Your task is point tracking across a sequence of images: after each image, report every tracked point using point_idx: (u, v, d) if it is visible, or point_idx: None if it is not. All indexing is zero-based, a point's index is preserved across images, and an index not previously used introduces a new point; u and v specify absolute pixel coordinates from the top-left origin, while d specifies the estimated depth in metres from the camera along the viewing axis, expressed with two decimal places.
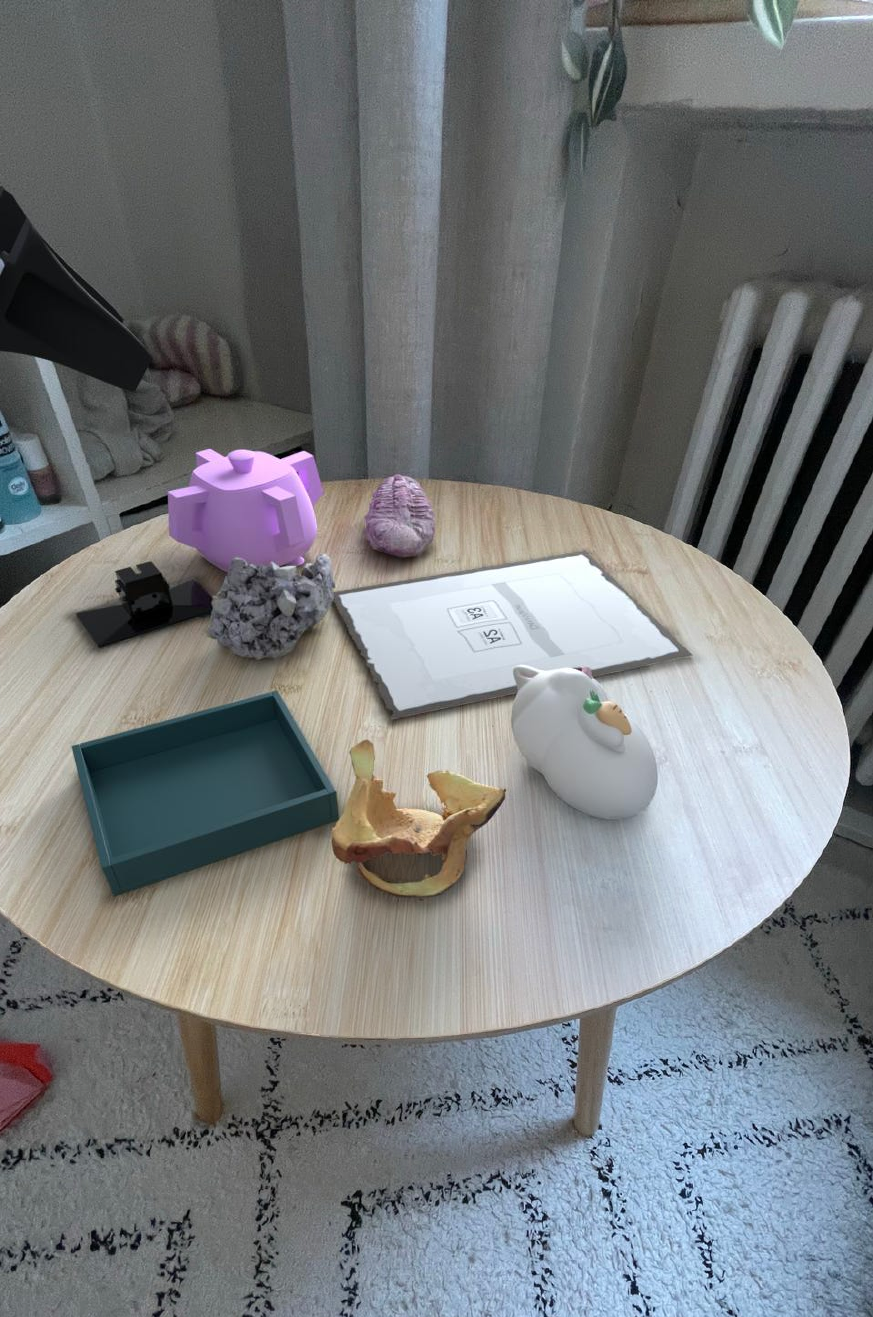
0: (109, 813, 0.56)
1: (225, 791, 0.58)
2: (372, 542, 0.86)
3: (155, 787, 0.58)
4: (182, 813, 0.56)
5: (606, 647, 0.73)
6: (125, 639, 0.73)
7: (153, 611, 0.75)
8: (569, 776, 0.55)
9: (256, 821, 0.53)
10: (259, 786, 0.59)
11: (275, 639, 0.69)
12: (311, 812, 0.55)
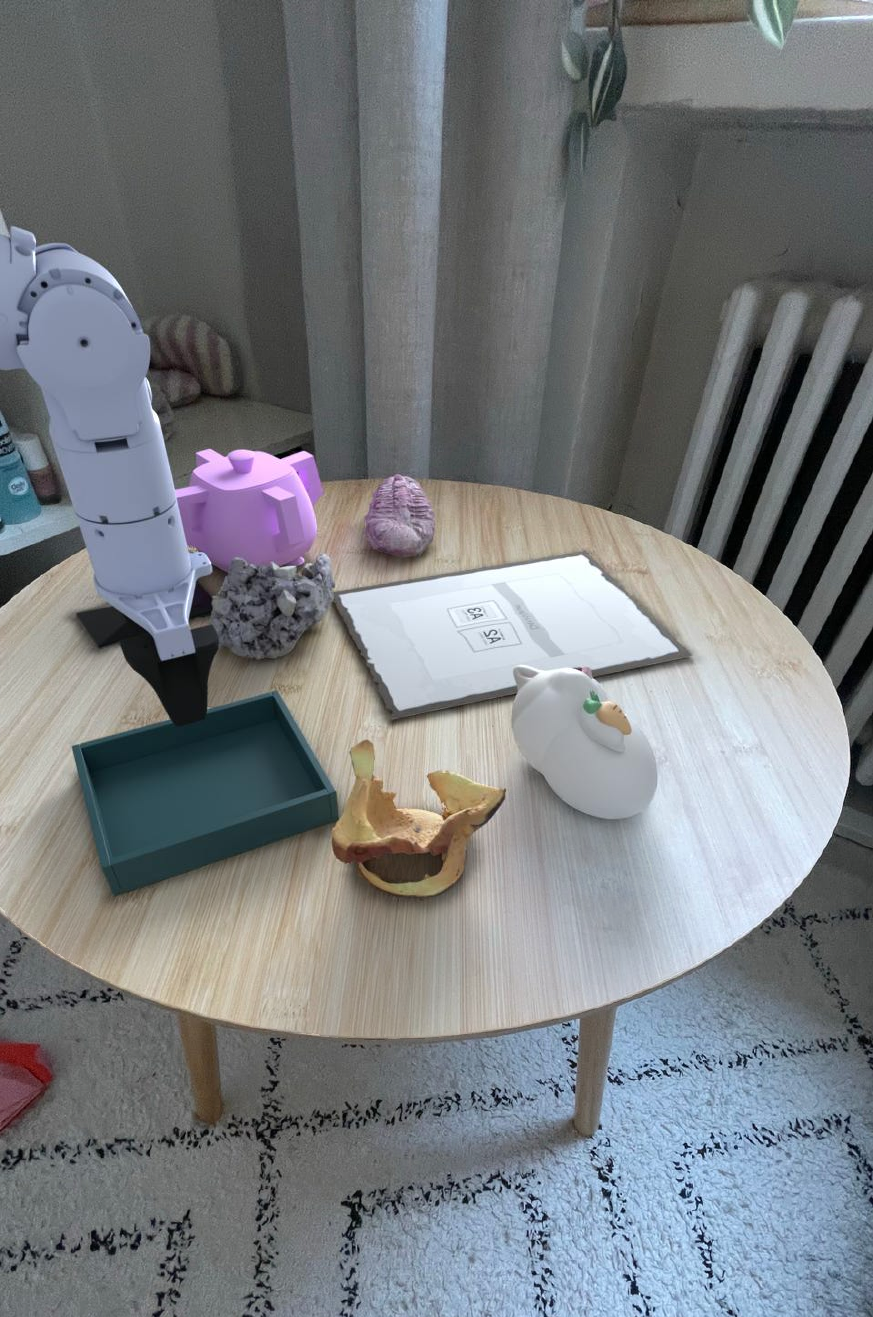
0: (109, 813, 0.56)
1: (225, 791, 0.58)
2: (372, 542, 0.86)
3: (155, 787, 0.58)
4: (182, 813, 0.56)
5: (606, 647, 0.73)
6: None
7: None
8: (569, 776, 0.55)
9: (256, 821, 0.53)
10: (259, 786, 0.59)
11: (275, 639, 0.69)
12: (311, 812, 0.55)
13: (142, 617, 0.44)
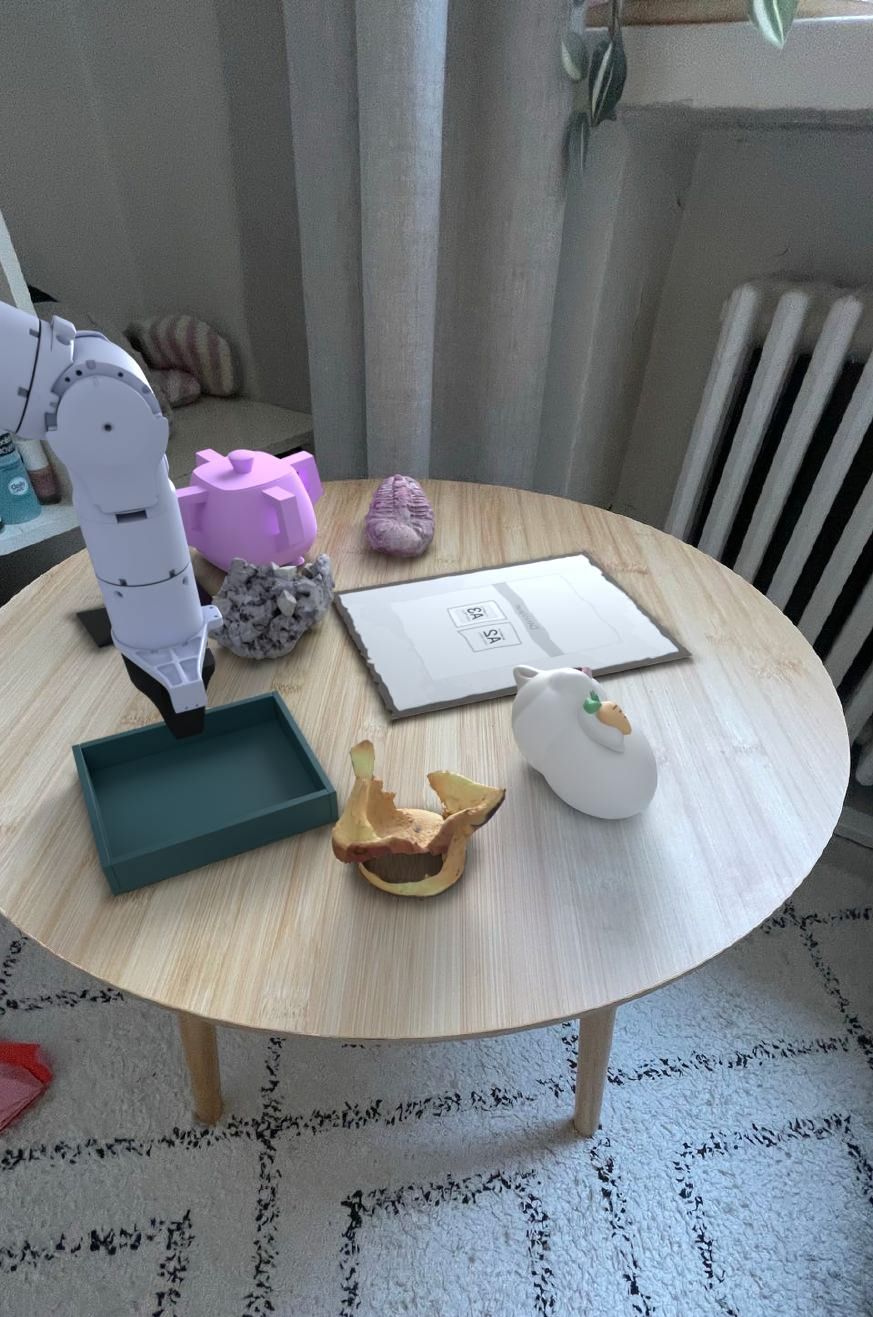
0: (109, 813, 0.56)
1: (225, 791, 0.58)
2: (372, 542, 0.86)
3: (155, 787, 0.58)
4: (182, 813, 0.56)
5: (606, 647, 0.73)
6: None
7: None
8: (569, 776, 0.55)
9: (256, 821, 0.53)
10: (259, 786, 0.59)
11: (275, 639, 0.69)
12: (311, 812, 0.55)
13: (158, 672, 0.47)
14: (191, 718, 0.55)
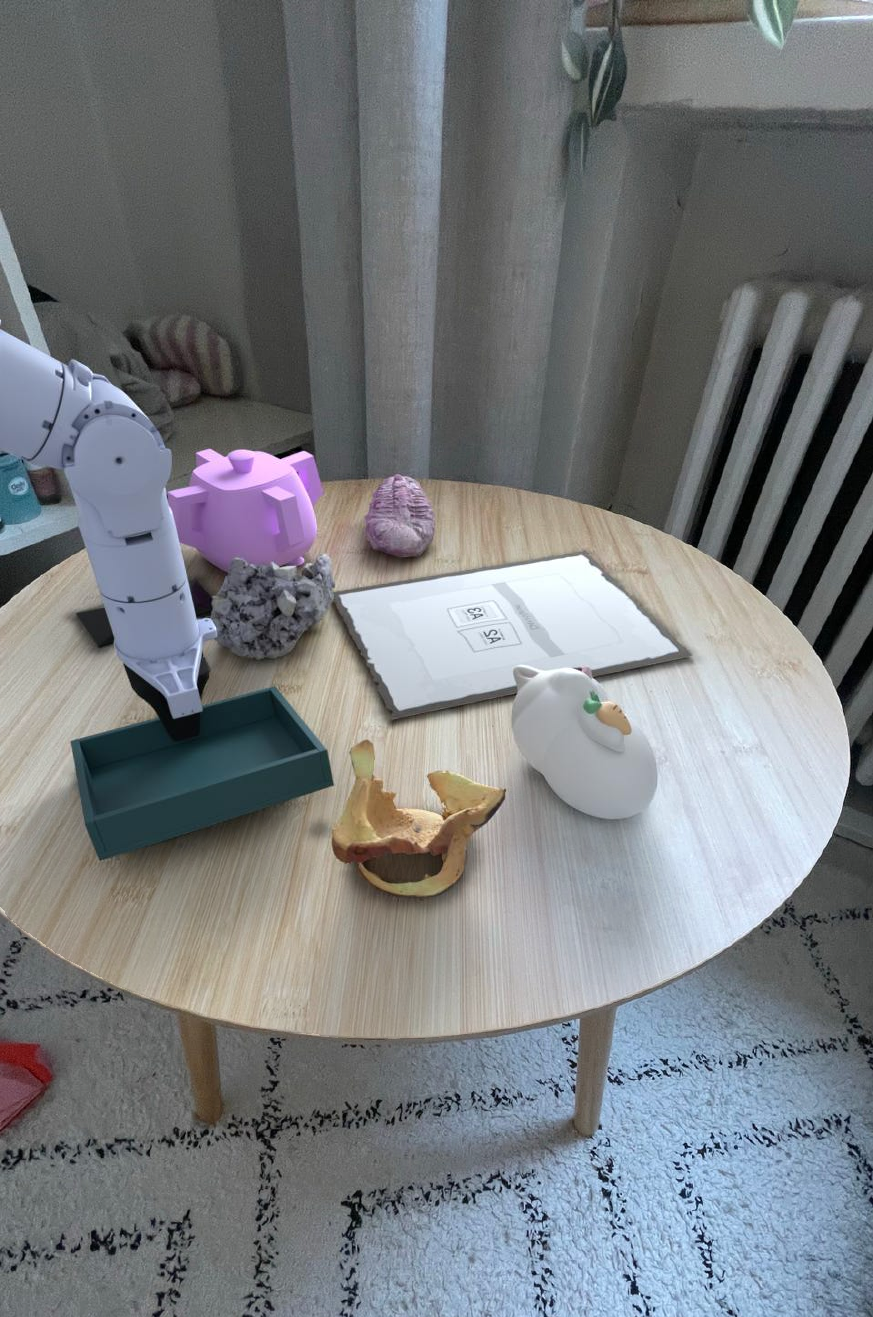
0: (103, 797, 0.56)
1: (220, 772, 0.57)
2: (372, 542, 0.86)
3: (151, 775, 0.58)
4: (175, 791, 0.55)
5: (606, 647, 0.73)
6: None
7: None
8: (569, 776, 0.55)
9: (245, 779, 0.52)
10: (254, 765, 0.58)
11: (275, 639, 0.69)
12: (303, 773, 0.53)
13: (157, 681, 0.51)
14: (187, 722, 0.60)
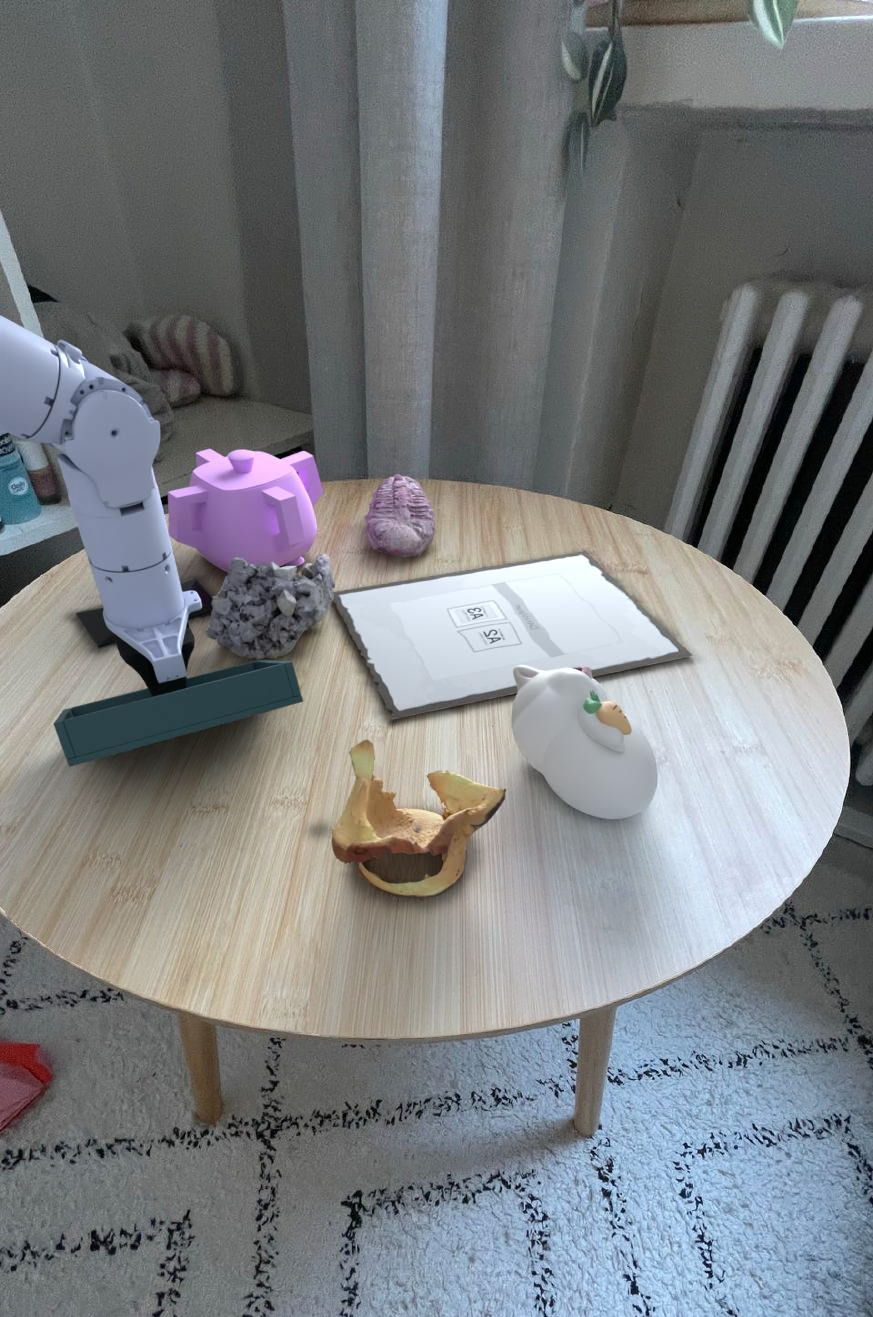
0: None
1: None
2: (372, 542, 0.86)
3: None
4: None
5: (606, 647, 0.73)
6: None
7: None
8: (569, 776, 0.55)
9: (211, 687, 0.53)
10: None
11: (275, 639, 0.69)
12: (270, 685, 0.55)
13: (143, 647, 0.54)
14: (174, 690, 0.62)
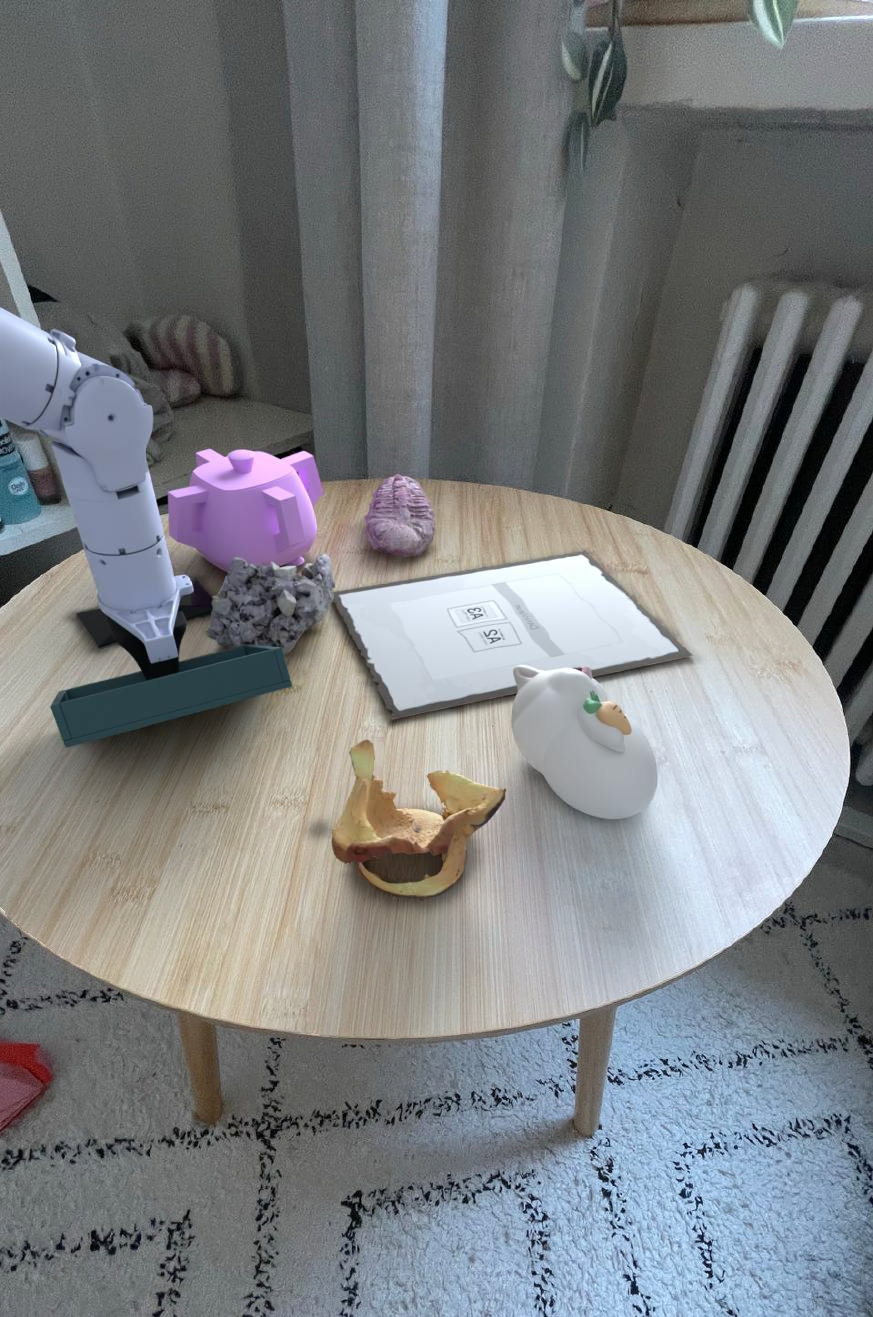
0: None
1: None
2: (372, 542, 0.86)
3: None
4: None
5: (606, 647, 0.73)
6: None
7: None
8: (569, 776, 0.55)
9: (203, 672, 0.55)
10: None
11: (275, 639, 0.69)
12: (260, 670, 0.56)
13: (136, 628, 0.55)
14: (167, 673, 0.64)
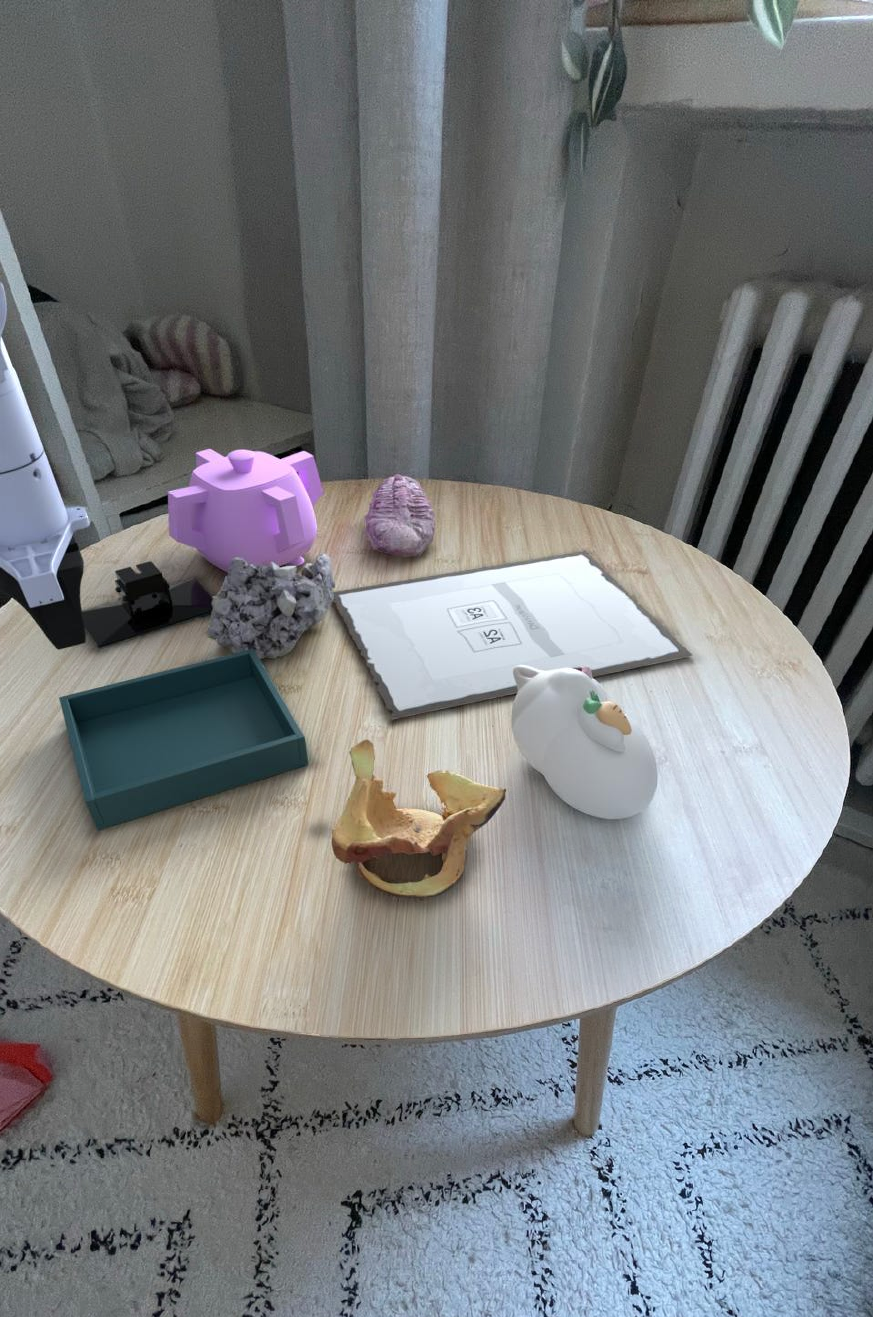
0: (94, 759, 0.60)
1: (202, 739, 0.62)
2: (372, 542, 0.86)
3: (137, 736, 0.62)
4: (162, 758, 0.61)
5: (606, 647, 0.73)
6: (125, 639, 0.73)
7: (153, 611, 0.75)
8: (569, 776, 0.55)
9: (229, 762, 0.57)
10: (234, 735, 0.63)
11: (275, 639, 0.69)
12: (281, 756, 0.59)
13: (10, 566, 0.46)
14: (69, 626, 0.55)
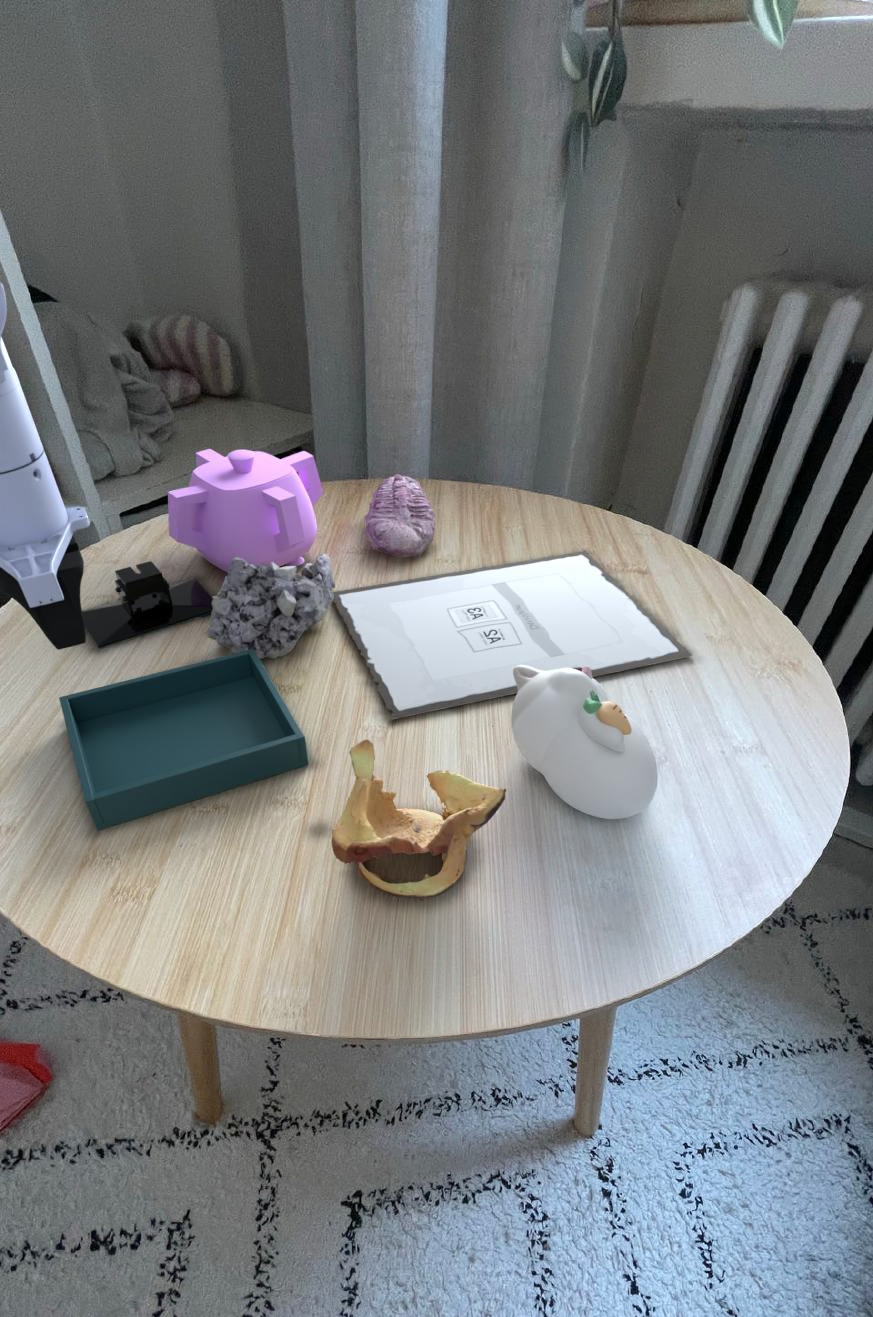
0: (94, 759, 0.60)
1: (202, 739, 0.62)
2: (372, 542, 0.86)
3: (137, 736, 0.62)
4: (162, 758, 0.61)
5: (606, 647, 0.73)
6: (125, 639, 0.73)
7: (153, 611, 0.75)
8: (569, 776, 0.55)
9: (229, 762, 0.57)
10: (234, 735, 0.63)
11: (275, 639, 0.69)
12: (281, 756, 0.59)
13: (10, 566, 0.46)
14: (69, 626, 0.55)
